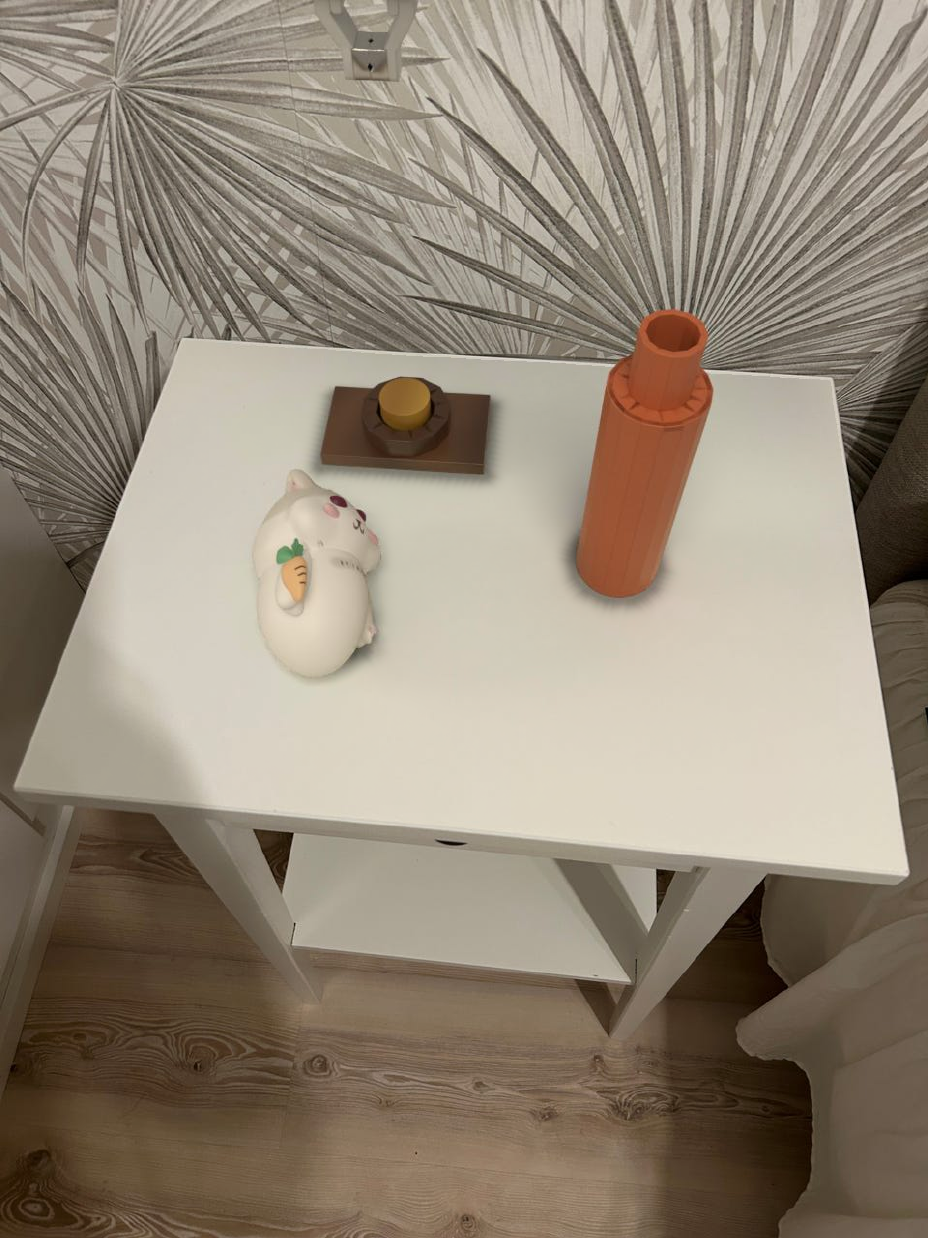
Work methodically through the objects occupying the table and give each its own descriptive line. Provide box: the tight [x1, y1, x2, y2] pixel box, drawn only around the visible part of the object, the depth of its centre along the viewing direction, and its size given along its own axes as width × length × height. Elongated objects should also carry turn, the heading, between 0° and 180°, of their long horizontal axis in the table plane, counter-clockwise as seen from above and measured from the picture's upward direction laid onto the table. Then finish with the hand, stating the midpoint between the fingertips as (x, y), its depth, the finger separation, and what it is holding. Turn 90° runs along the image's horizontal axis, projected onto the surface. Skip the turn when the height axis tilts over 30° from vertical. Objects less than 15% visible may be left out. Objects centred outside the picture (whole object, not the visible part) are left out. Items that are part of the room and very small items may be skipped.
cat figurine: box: [251, 468, 382, 678], centre depth 61 cm, size 10×8×15 cm
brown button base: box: [319, 376, 492, 475], centre depth 72 cm, size 13×8×3 cm, turn 85°
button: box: [379, 378, 431, 431], centre depth 70 cm, size 4×4×2 cm
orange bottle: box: [575, 308, 715, 598], centre depth 57 cm, size 6×6×22 cm
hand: (374, 75), depth 48 cm, fingers closed
